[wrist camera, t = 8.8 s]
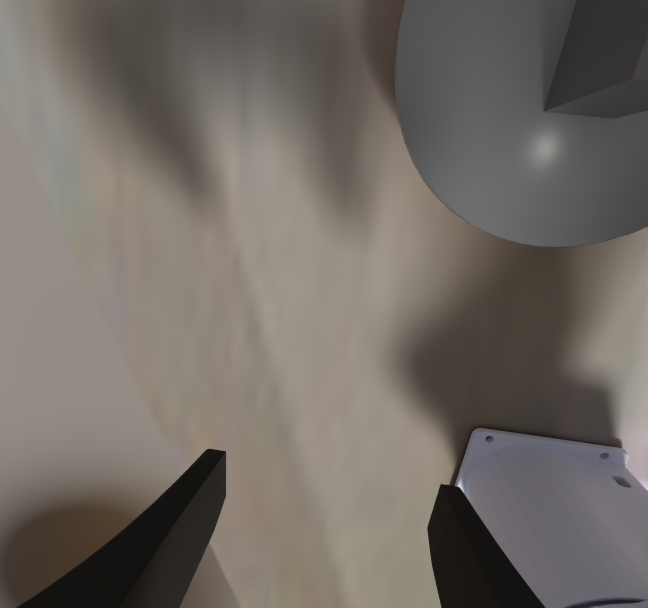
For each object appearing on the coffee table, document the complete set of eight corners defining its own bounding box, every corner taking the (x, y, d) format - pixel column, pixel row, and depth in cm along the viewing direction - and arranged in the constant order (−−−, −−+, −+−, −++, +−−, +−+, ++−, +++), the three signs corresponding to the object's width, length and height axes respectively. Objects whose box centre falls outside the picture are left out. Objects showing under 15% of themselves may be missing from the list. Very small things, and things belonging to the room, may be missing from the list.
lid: (925, -212, 9) (1483, -596, 5) (690, 261, 14) (853, 300, 9) (437, -237, 10) (509, -598, 5) (369, 224, 14) (375, 243, 10)
